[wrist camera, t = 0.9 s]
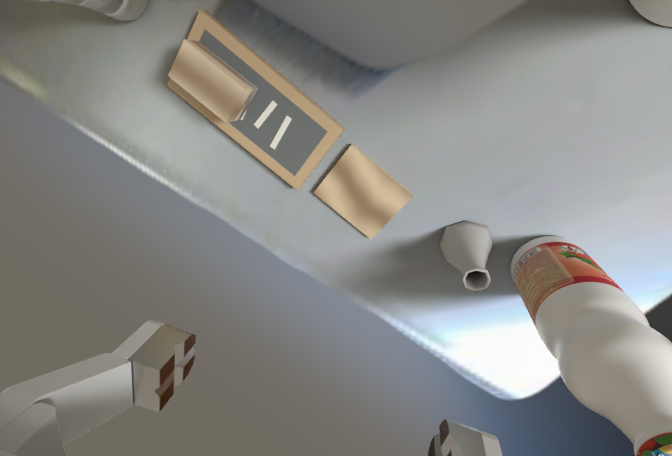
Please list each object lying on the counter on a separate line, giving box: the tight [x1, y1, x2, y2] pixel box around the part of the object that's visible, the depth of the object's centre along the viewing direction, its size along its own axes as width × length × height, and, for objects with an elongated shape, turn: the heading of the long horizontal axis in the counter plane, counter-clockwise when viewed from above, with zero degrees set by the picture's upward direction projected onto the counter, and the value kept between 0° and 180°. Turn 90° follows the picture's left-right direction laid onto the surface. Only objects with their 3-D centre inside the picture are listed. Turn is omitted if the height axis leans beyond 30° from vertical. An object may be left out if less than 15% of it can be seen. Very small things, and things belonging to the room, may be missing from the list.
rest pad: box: [314, 144, 413, 239], centre depth 49 cm, size 9×11×1 cm
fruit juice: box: [511, 236, 672, 456], centre depth 35 cm, size 9×9×28 cm
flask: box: [439, 221, 493, 292], centre depth 44 cm, size 7×7×10 cm
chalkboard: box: [167, 9, 345, 190], centre depth 46 cm, size 11×23×2 cm, turn 52°
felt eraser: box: [168, 39, 258, 123], centre depth 43 cm, size 5×9×4 cm, turn 52°
